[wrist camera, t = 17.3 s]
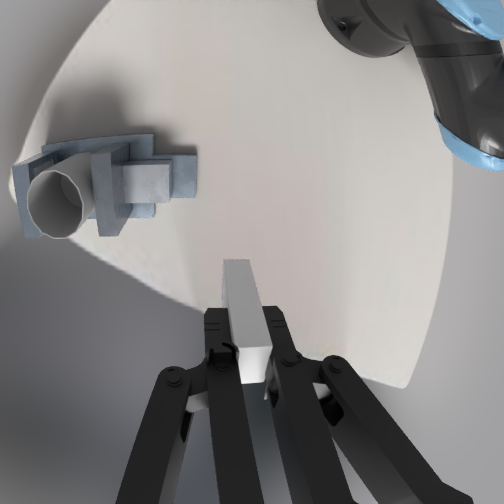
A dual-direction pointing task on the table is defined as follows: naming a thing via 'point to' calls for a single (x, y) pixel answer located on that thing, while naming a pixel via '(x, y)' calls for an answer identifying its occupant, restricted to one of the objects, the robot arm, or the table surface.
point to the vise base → (57, 152)
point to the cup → (62, 197)
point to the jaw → (126, 185)
